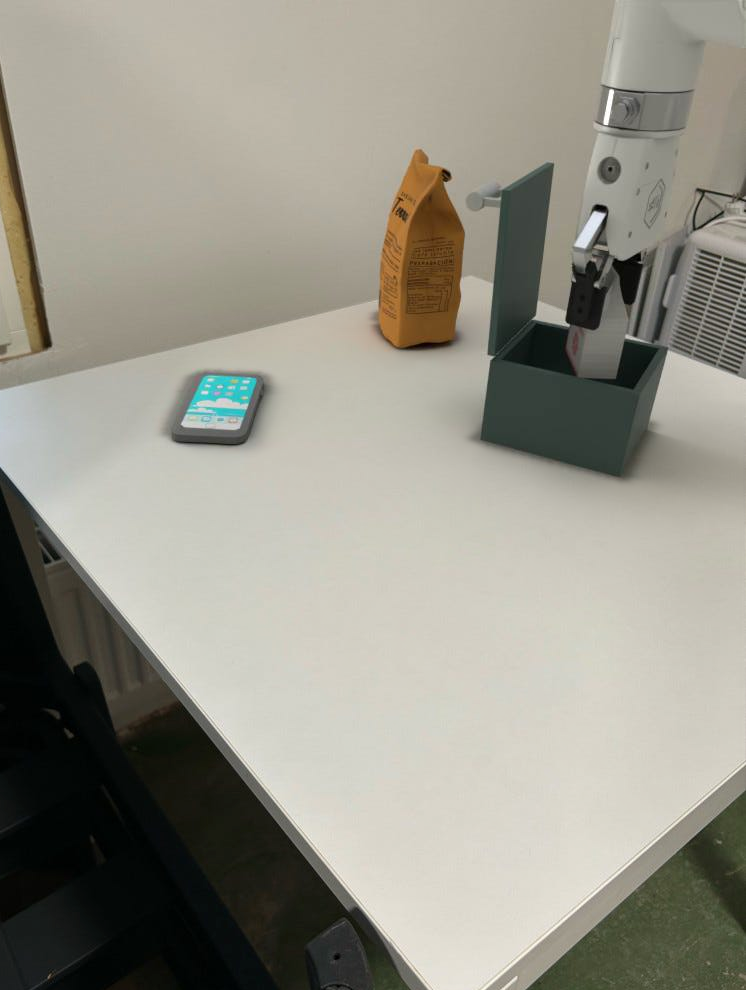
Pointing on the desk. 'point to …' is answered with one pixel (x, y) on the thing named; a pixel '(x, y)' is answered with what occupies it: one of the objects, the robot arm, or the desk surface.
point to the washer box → (569, 400)
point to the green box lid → (516, 250)
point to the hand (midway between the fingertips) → (600, 312)
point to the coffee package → (421, 259)
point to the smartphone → (218, 408)
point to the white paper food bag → (600, 336)
